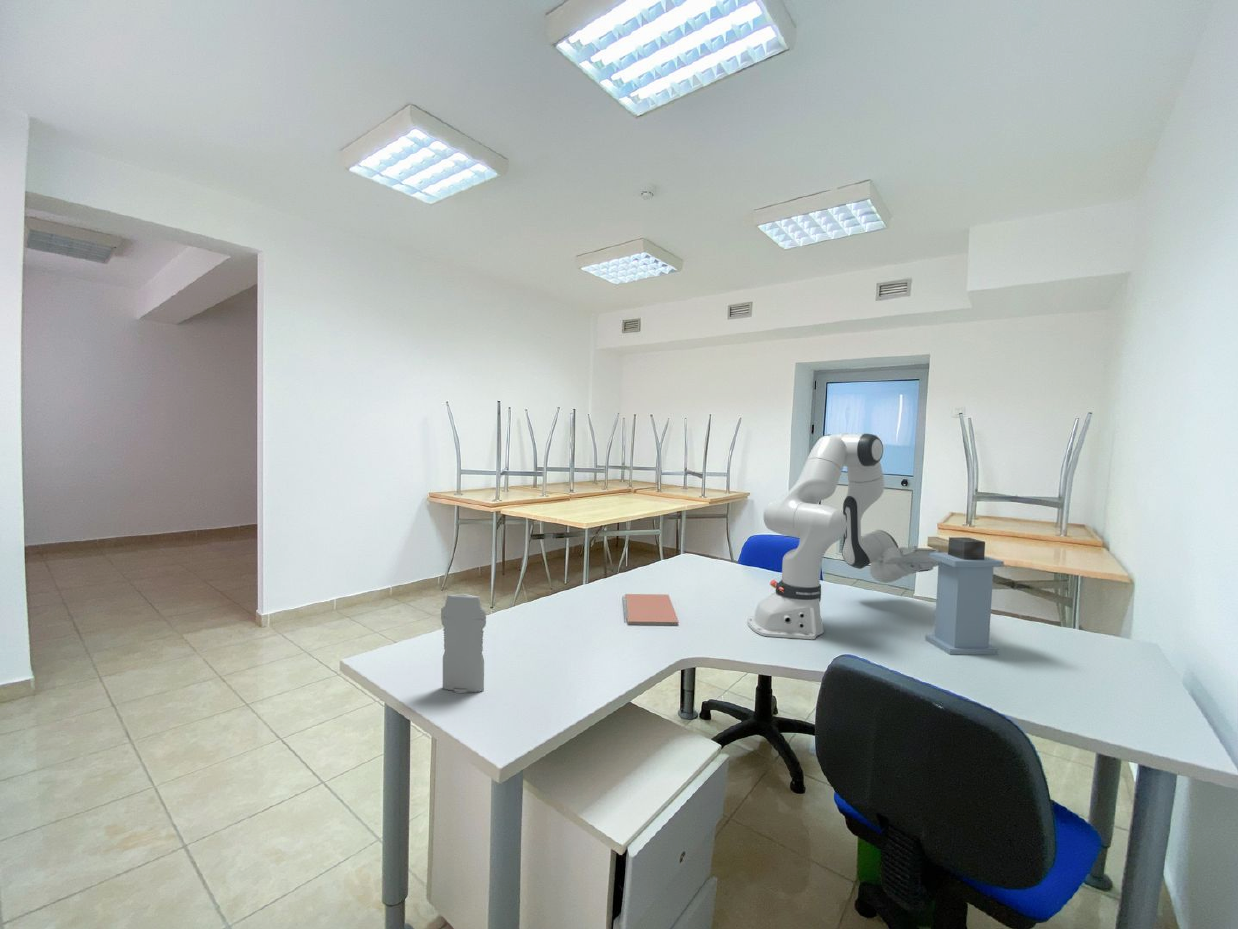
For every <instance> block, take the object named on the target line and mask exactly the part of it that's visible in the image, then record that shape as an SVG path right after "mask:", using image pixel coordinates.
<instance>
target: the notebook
mask: <svg viewBox="0 0 1238 929" xmlns="http://www.w3.org/2000/svg"><path fill="white" fill-rule="evenodd" d="M621 600H622V611H623V622H624V623H626V622H625V621H626V620H627V626H678V625H679V623H680V622H679V619H678V616H677V614H676V611H675V608H674V605H673V603H672V600H671V597H670V595H669V594H659V593H657V594H654V593H653V594H652V593H649V594H647V593H640V594H639V593H624V595H623V596H622V598H621Z"/></svg>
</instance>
